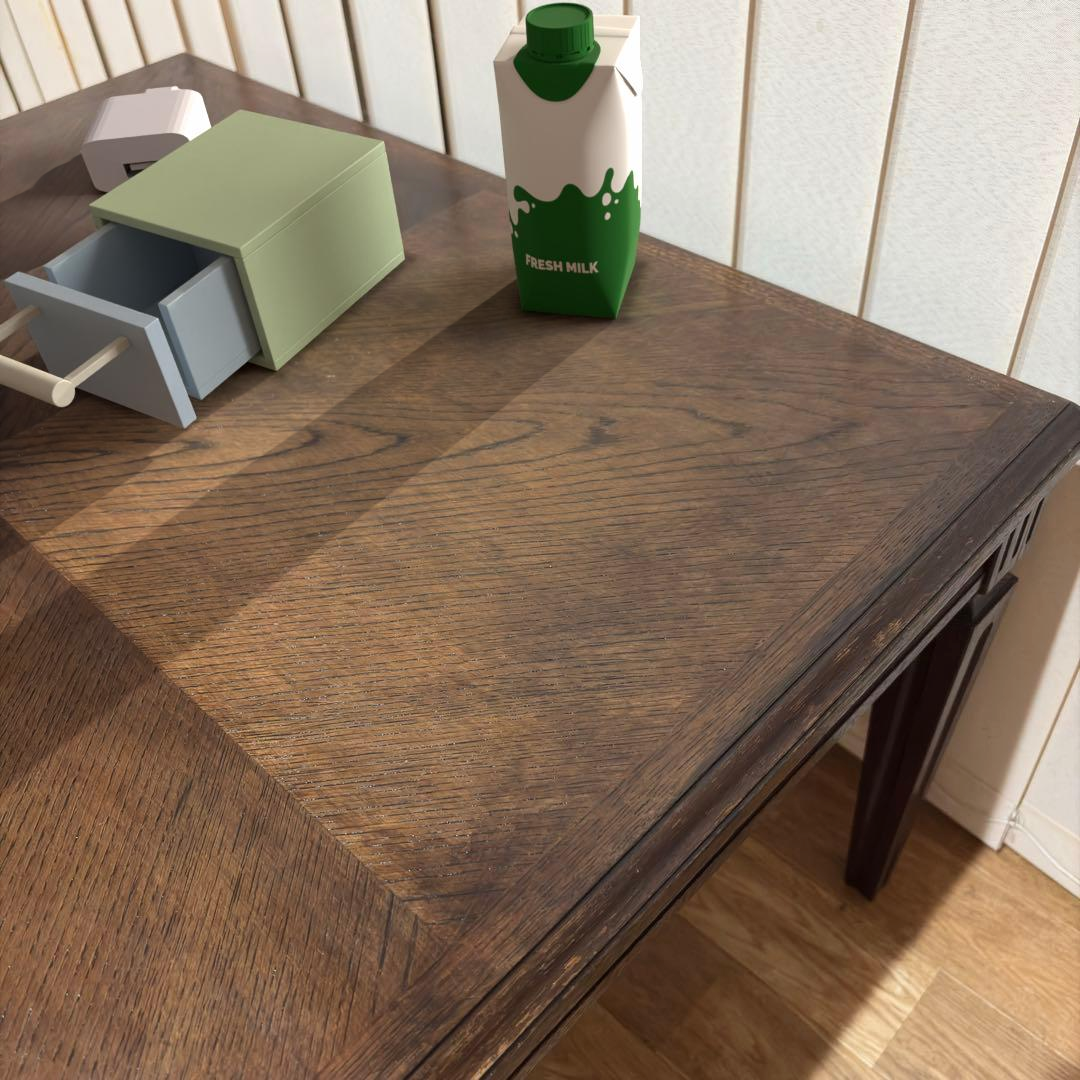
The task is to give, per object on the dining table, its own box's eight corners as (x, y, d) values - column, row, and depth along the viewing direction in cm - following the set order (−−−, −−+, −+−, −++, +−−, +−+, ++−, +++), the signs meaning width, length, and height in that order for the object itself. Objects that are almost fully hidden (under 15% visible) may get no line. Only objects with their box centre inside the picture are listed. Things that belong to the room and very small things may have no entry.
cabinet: (276, 371, 74) (239, 248, 67) (135, 323, 79) (87, 205, 72) (405, 259, 83) (384, 140, 76) (270, 222, 88) (239, 108, 81)
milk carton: (506, 317, 76) (476, 28, 62) (537, 249, 82) (516, -28, 68) (626, 328, 75) (624, 33, 60) (649, 258, 80) (652, -25, 66)
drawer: (113, 490, 65) (63, 389, 59) (-22, 432, 70) (-80, 333, 64) (323, 310, 77) (298, 212, 71) (195, 272, 82) (163, 176, 76)
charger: (221, 108, 104) (202, 183, 93) (126, 118, 104) (97, 194, 93) (207, 59, 100) (186, 131, 90) (109, 69, 100) (76, 142, 90)
